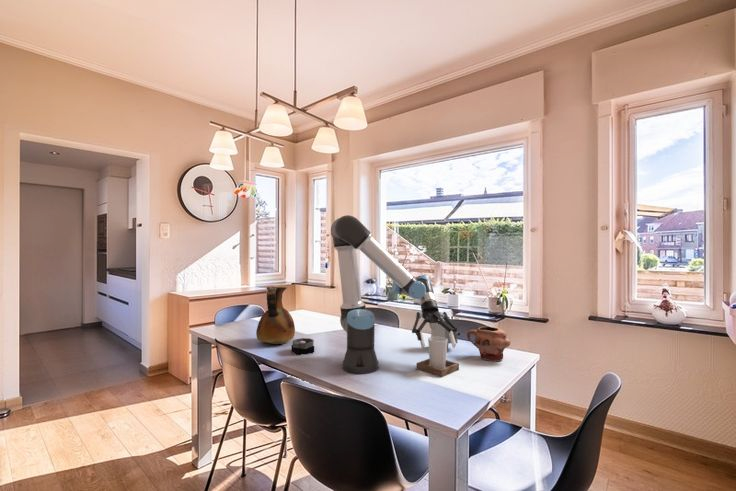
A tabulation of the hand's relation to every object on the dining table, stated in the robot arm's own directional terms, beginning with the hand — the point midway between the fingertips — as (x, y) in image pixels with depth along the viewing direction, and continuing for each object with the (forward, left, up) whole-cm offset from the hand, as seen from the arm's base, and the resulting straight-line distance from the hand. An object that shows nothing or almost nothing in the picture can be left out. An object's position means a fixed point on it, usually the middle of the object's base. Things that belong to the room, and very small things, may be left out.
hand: (439, 346), depth 146 cm
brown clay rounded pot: (+29, -7, -9) cm, 31 cm away
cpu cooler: (-29, +59, -10) cm, 66 cm away
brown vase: (-30, +82, -9) cm, 88 cm away
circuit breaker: (+27, +15, -9) cm, 32 cm away
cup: (-1, 0, -9) cm, 9 cm away
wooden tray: (-1, 0, -9) cm, 9 cm away
